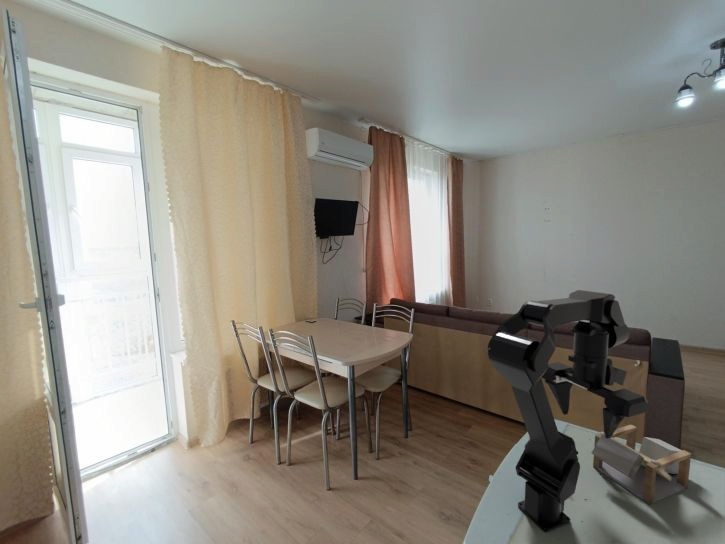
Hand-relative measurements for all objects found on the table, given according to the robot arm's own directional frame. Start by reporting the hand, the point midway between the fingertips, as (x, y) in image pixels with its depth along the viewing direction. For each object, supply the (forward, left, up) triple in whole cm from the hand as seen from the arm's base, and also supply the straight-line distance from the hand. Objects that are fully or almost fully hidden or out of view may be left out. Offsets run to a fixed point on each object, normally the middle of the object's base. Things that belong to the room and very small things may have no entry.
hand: (585, 425), depth 69 cm
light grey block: (+17, -3, -9) cm, 20 cm away
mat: (+13, -3, -13) cm, 19 cm away
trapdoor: (+8, -3, -12) cm, 14 cm away
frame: (+13, -3, -13) cm, 19 cm away
